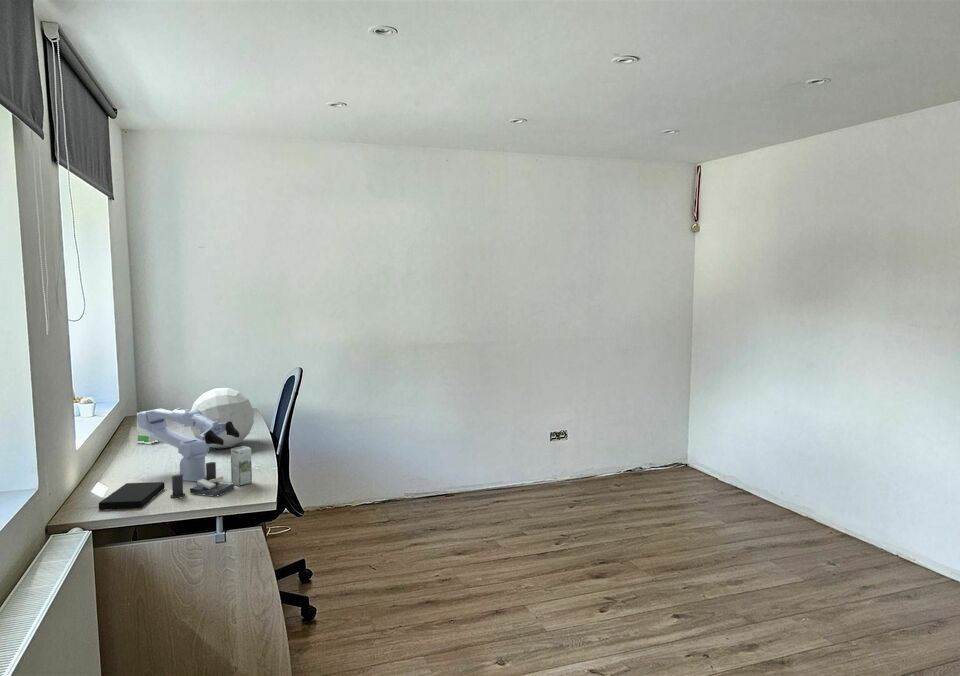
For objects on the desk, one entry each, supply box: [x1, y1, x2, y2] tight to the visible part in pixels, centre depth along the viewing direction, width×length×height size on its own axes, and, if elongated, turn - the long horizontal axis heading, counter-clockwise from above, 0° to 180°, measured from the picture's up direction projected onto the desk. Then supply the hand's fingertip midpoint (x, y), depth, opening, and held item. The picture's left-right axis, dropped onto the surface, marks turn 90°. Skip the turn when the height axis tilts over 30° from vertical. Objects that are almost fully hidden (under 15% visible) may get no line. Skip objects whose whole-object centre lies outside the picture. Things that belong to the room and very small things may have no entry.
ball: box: [189, 387, 255, 449], centre depth 319 cm, size 30×30×30 cm
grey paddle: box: [196, 478, 216, 489], centre depth 248 cm, size 6×3×1 cm, turn 72°
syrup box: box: [230, 445, 253, 487], centre depth 260 cm, size 6×6×14 cm
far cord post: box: [205, 461, 217, 481], centre depth 261 cm, size 5×5×8 cm
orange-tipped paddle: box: [209, 476, 224, 483], centre depth 252 cm, size 6×3×1 cm, turn 73°
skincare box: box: [136, 412, 158, 442], centre depth 329 cm, size 8×7×16 cm
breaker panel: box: [189, 481, 235, 497], centre depth 250 cm, size 12×10×3 cm
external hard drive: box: [98, 481, 166, 510], centre depth 242 cm, size 14×23×3 cm, turn 7°
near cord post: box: [169, 473, 187, 499], centre depth 244 cm, size 5×5×8 cm
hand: (230, 438), depth 257 cm, fingers open, 7 cm apart
